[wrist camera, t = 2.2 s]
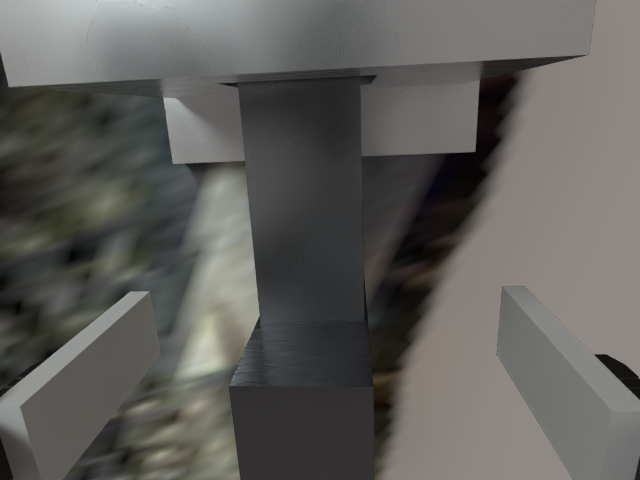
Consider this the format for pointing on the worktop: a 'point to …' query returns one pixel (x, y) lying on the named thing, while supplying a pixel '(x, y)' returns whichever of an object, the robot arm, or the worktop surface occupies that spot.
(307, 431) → the bar
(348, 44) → the frame
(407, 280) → the worktop surface
